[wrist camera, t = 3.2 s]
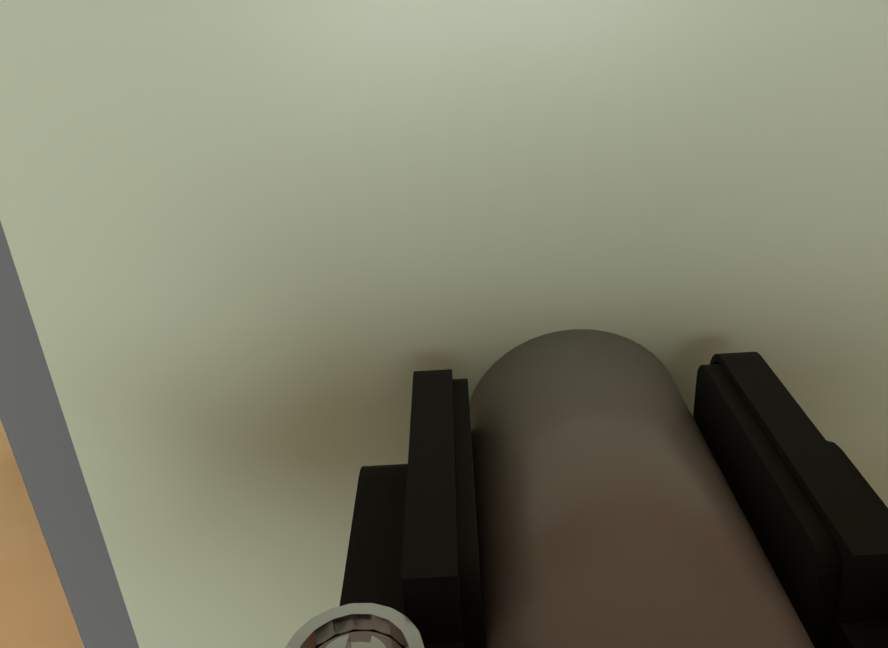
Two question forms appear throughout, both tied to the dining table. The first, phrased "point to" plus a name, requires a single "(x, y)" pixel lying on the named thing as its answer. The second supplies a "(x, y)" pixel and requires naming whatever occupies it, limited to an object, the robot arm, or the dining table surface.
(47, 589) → the dining table surface
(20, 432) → the rubber mat
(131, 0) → the cover board
